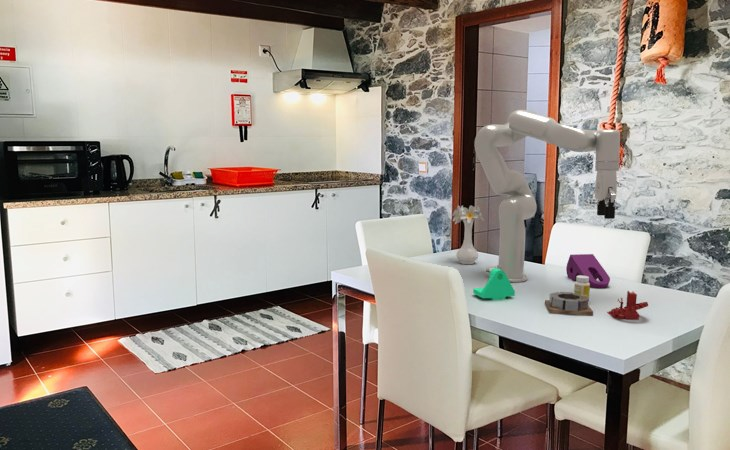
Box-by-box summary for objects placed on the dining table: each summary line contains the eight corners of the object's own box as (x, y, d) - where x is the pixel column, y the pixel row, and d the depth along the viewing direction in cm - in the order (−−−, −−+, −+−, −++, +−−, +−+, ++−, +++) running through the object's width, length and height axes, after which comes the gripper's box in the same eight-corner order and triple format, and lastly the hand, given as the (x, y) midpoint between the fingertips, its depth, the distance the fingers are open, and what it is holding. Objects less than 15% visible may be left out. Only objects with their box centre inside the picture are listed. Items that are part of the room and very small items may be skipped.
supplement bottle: (588, 300, 206) (590, 275, 205) (588, 303, 201) (590, 278, 200) (573, 298, 207) (575, 274, 206) (573, 302, 203) (575, 277, 202)
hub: (552, 309, 190) (553, 298, 189) (547, 300, 201) (548, 289, 200) (590, 311, 188) (591, 300, 187) (583, 301, 199) (584, 290, 198)
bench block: (549, 313, 190) (549, 309, 190) (544, 303, 201) (544, 300, 201) (593, 315, 188) (593, 311, 188) (585, 305, 199) (586, 302, 199)
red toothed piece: (615, 309, 195) (617, 284, 194) (653, 318, 187) (655, 291, 185) (598, 316, 188) (600, 289, 187) (637, 325, 180) (639, 297, 178)
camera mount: (502, 293, 214) (504, 264, 213) (514, 299, 207) (516, 269, 205) (472, 295, 210) (473, 266, 209) (482, 301, 203) (484, 271, 202)
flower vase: (468, 257, 274) (470, 202, 270) (489, 266, 257) (492, 207, 253) (442, 259, 269) (443, 202, 266) (462, 268, 252) (464, 208, 248)
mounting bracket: (607, 301, 227) (587, 271, 241) (614, 284, 222) (593, 254, 237) (583, 302, 225) (564, 271, 240) (590, 284, 220) (570, 254, 235)
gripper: (589, 166, 216) (588, 214, 218) (602, 167, 199) (600, 219, 201) (611, 165, 215) (610, 214, 217) (626, 167, 198) (624, 219, 200)
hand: (605, 216), depth 209 cm, fingers open, 9 cm apart
